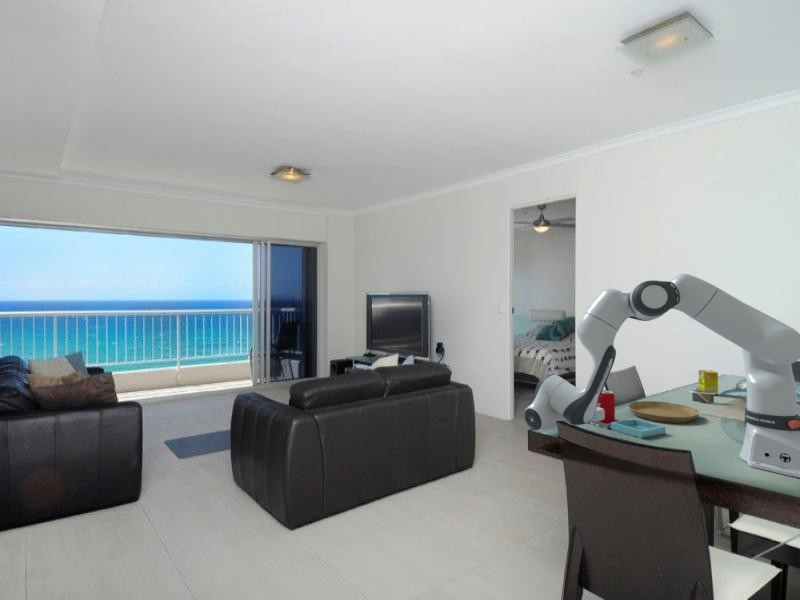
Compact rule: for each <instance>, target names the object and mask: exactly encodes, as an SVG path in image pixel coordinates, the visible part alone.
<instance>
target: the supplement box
mask: <svg viewBox="0 0 800 600" xmlns="http://www.w3.org/2000/svg"><path fill="white" fill-rule="evenodd" d="M718 383H719V372H716V371H714V370H710V369H707V370H706V369H704V370H703V369H698V388H699V389H698V391H707V388H712V392H717V394H714V397H716V396H718V395H719V384H718ZM701 388H703V389H701Z"/></svg>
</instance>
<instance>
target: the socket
mask: <svg viewBox="0 0 800 600" xmlns="http://www.w3.org/2000/svg"><path fill="white" fill-rule="evenodd" d="M616 421H621V420H619V419H616V418H615V422H616ZM592 423H595V424H598V425H600V426H603V427H606V428H611V423H610V424H605V423H602V422H598V421H595V422H592Z"/></svg>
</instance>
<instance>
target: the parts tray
mask: <svg viewBox="0 0 800 600" xmlns="http://www.w3.org/2000/svg"><path fill="white" fill-rule="evenodd" d="M611 429H613V430H616V431H615V432H617V431H618V432H617V433H620V432H622V433H621V434H624V433H625V434H624V435H627V434H629V435H628V436H630V435H633V436H632V437H634V436H636V437H635V438H637V437H640V438H644V439H648V438H647V437H649V438H653V437H656V436H662V435H666V426H664V425H660V424H656V423H653V422H649V421H647V420H646V421H645V420H642V419H638V418H628V419H623V420H620V421H616V422H611ZM611 429H610V430H611ZM613 430H612V431H613ZM640 438H639V439H640Z"/></svg>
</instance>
